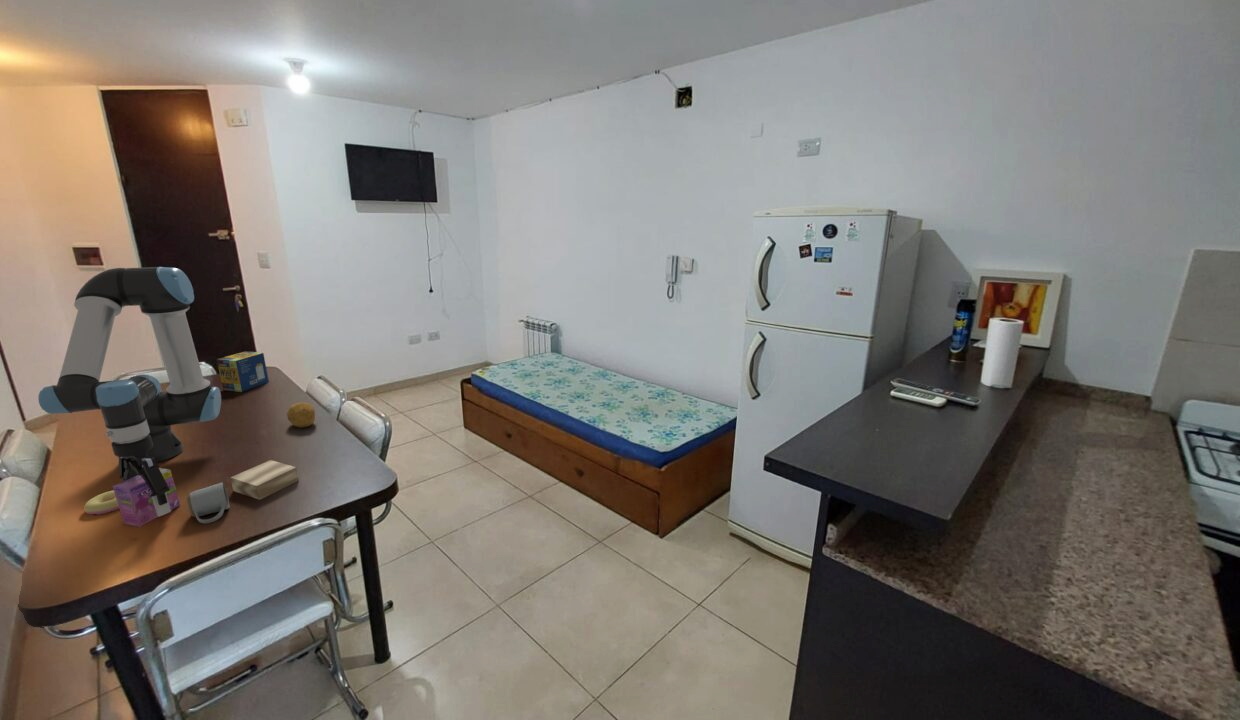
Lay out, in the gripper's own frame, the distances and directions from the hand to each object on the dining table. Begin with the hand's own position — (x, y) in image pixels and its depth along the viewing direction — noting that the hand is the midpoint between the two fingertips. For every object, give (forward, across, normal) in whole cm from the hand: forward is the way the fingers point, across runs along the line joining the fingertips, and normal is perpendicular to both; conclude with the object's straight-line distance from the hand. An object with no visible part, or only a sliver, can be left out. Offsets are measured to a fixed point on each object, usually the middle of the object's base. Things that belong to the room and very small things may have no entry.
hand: (151, 507), depth 133 cm
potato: (+2, -22, +57) cm, 61 cm away
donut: (+3, -16, -3) cm, 17 cm away
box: (+2, 0, 0) cm, 2 cm away
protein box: (+2, -90, +74) cm, 117 cm away
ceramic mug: (+3, +14, +8) cm, 16 cm away
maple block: (+3, +12, +23) cm, 26 cm away
